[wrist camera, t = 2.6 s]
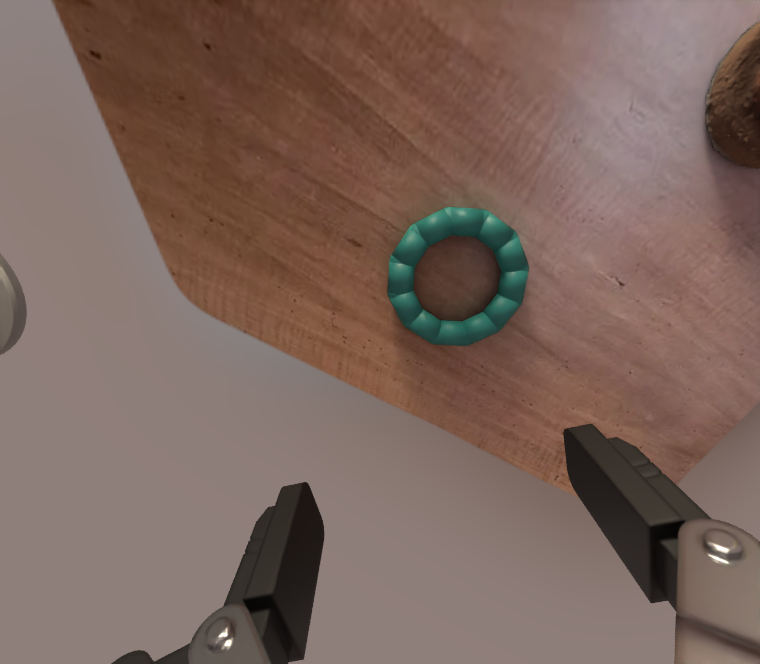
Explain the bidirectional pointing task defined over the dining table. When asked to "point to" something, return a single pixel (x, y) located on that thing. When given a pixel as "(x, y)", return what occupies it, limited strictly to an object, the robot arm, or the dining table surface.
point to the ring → (435, 230)
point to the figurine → (737, 102)
